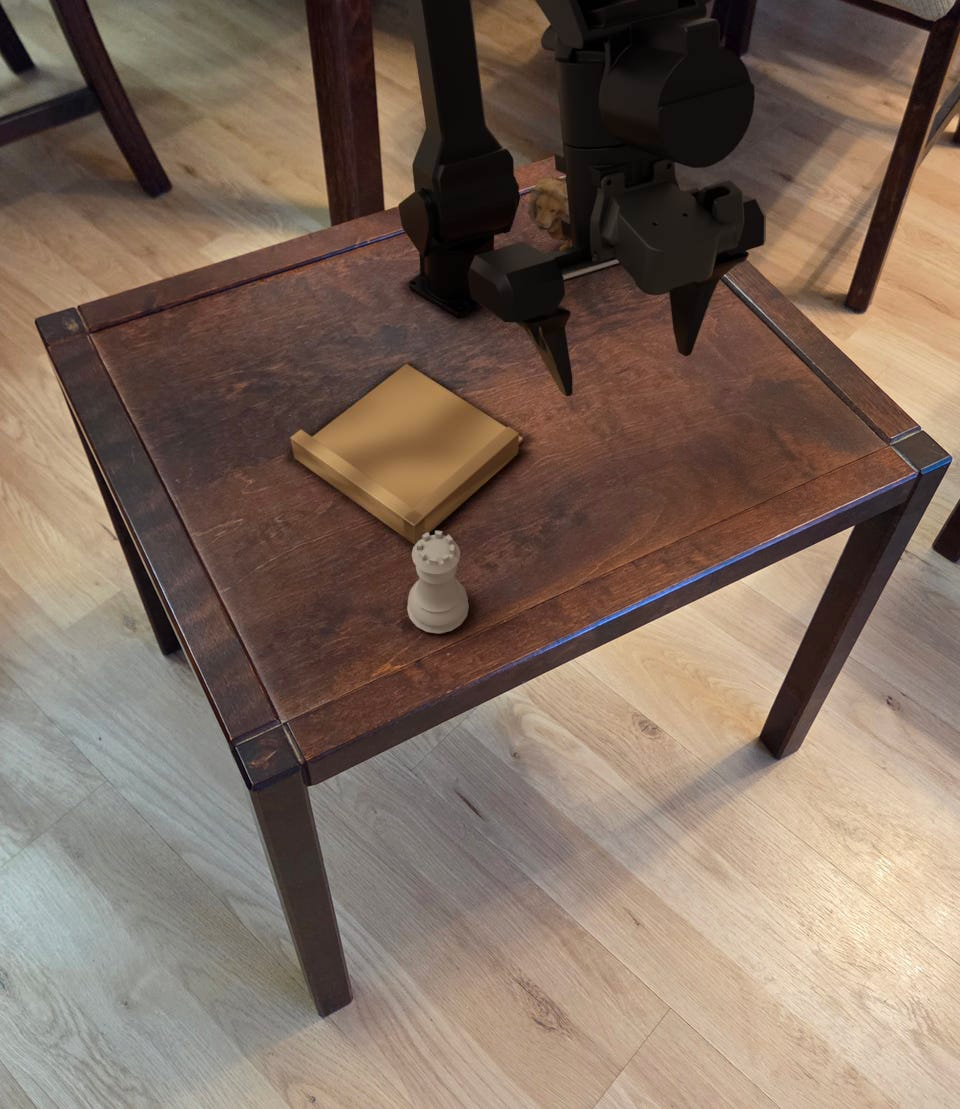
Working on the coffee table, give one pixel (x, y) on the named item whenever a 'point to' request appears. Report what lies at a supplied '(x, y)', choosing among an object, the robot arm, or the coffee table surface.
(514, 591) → the coffee table surface
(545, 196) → the lion figurine
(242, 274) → the coffee table surface
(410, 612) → the rook chess piece
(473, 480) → the corner guide
